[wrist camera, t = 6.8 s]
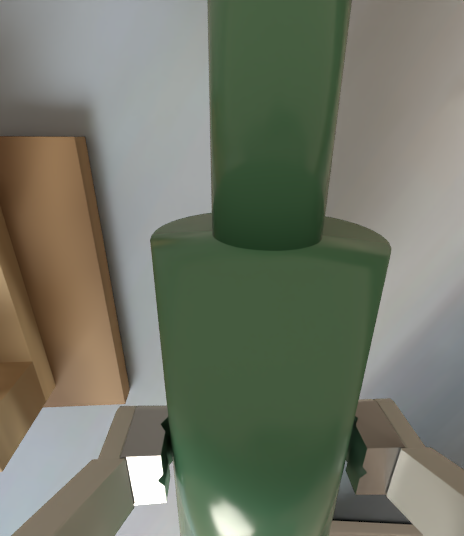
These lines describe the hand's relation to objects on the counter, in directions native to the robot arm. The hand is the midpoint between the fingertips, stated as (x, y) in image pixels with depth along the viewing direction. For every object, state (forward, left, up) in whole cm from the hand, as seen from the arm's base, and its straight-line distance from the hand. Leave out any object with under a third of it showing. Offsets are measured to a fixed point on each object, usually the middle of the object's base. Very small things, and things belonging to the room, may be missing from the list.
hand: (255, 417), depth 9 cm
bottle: (0, -2, -2) cm, 3 cm away
